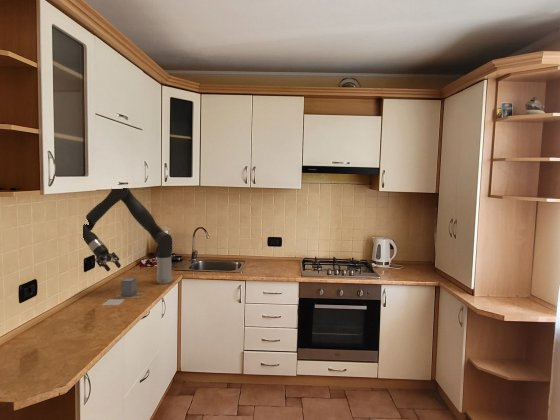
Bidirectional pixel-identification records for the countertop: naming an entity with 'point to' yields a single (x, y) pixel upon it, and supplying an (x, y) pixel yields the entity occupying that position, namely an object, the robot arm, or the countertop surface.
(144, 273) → the countertop surface
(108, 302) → the rubber mat
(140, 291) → the walnut board
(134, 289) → the grey upright block
